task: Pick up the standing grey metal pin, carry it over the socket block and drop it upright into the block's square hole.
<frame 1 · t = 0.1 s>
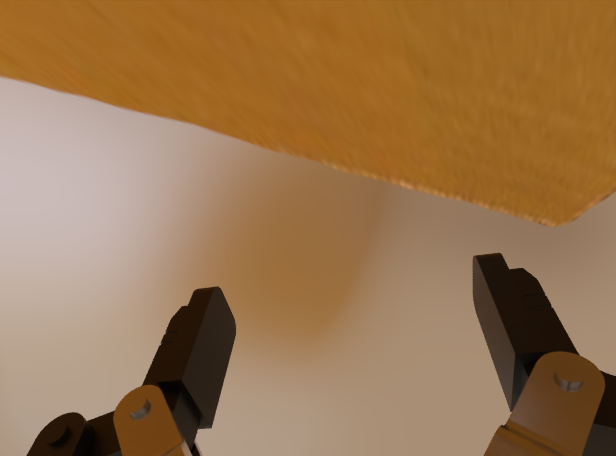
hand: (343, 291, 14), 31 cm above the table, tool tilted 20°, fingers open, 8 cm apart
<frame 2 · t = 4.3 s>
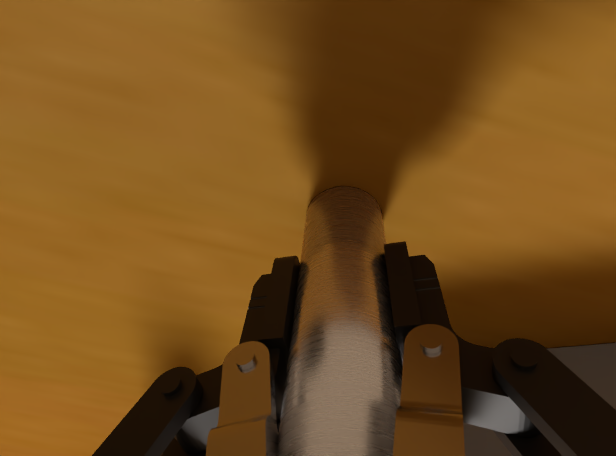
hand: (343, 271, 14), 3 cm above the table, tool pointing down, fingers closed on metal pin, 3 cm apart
socket block: (492, 440, 25), on the table
metal pin: (343, 219, 17), on the table, touching gripper
when the fingers open (7 cm above the table, at t = 10.3 s): metal pin drops 4 cm, resting in socket block.
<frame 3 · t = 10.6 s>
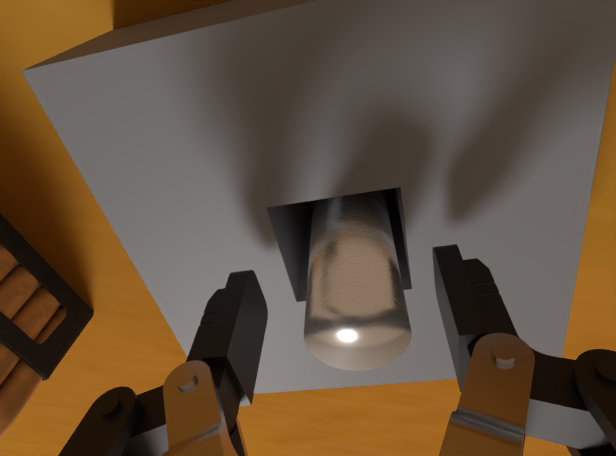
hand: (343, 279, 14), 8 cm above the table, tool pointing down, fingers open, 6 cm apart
ammunition clip: (26, 253, 25), on the table
socket block: (342, 172, 20), on the table
metal pin: (347, 171, 20), resting in socket block
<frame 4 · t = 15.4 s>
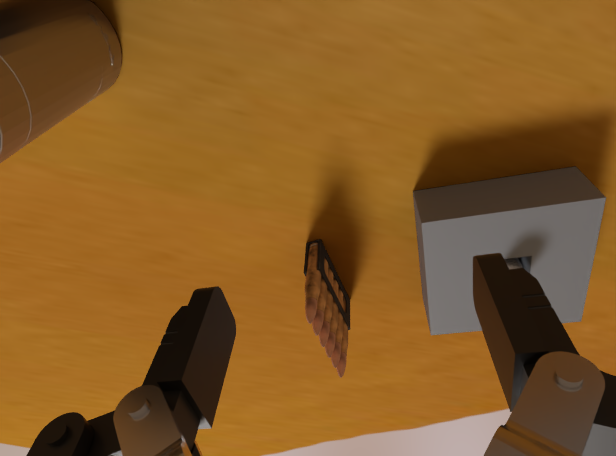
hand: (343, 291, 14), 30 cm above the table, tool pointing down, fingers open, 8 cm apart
ammunition clip: (329, 272, 53), on the table
socket block: (490, 240, 48), on the table
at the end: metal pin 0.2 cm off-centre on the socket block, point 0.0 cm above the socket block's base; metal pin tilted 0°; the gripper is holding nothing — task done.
